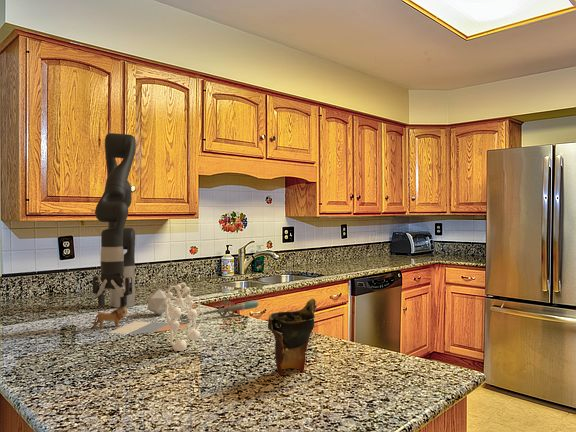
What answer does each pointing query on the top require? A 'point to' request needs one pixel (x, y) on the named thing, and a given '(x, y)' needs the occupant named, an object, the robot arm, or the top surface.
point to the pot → (292, 336)
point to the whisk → (228, 308)
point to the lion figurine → (111, 317)
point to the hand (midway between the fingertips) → (112, 306)
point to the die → (157, 302)
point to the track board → (142, 327)
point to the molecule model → (176, 313)
